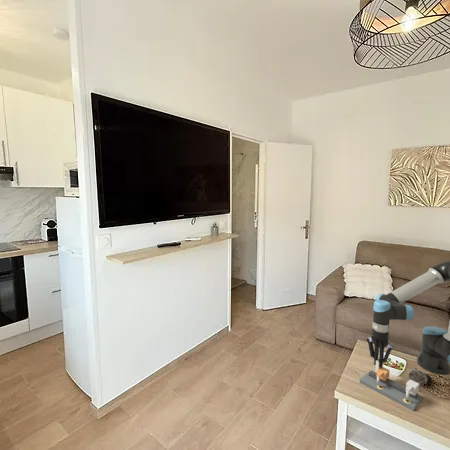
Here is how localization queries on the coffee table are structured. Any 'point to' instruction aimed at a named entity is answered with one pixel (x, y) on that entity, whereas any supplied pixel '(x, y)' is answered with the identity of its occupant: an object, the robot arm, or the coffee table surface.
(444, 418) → the coffee table surface
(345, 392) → the coffee table surface
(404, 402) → the plate
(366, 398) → the coffee table surface
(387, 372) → the sliding leg
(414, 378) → the grey rock
